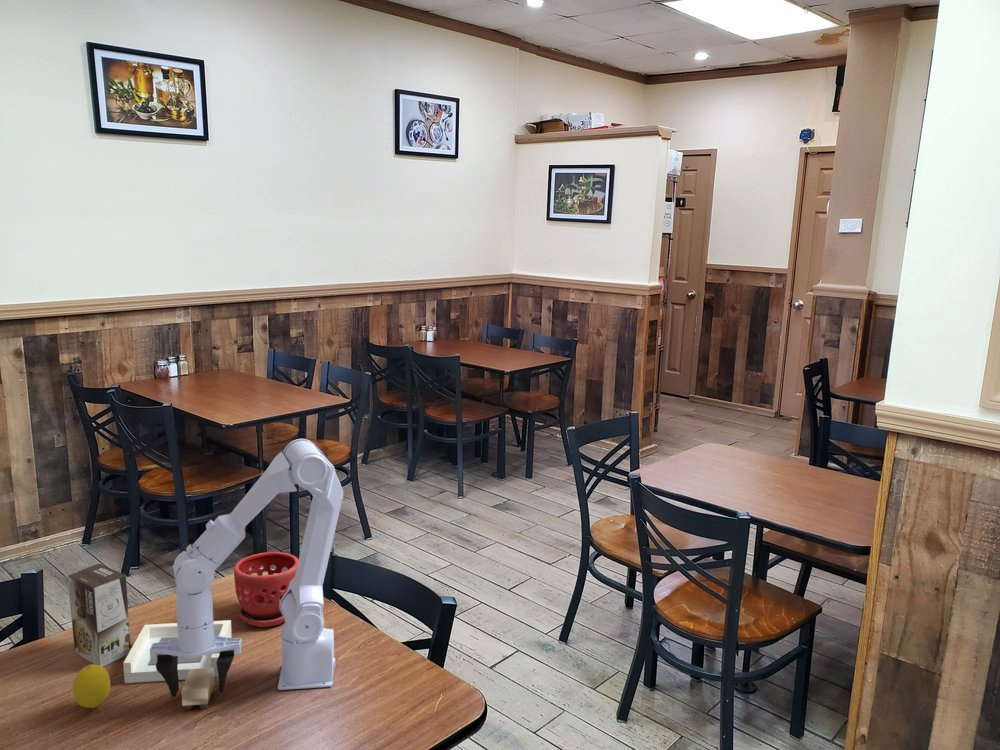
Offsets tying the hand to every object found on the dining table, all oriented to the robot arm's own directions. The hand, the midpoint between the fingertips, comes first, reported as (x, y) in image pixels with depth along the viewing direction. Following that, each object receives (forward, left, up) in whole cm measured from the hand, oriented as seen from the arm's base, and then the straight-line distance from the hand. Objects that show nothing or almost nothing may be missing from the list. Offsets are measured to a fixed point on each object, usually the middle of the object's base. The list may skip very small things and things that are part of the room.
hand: (198, 691), depth 128 cm
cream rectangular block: (0, 0, -2) cm, 2 cm away
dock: (+6, -13, -2) cm, 14 cm away
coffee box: (+21, -17, -2) cm, 27 cm away
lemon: (+17, 0, -2) cm, 17 cm away
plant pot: (-8, -28, -2) cm, 29 cm away
